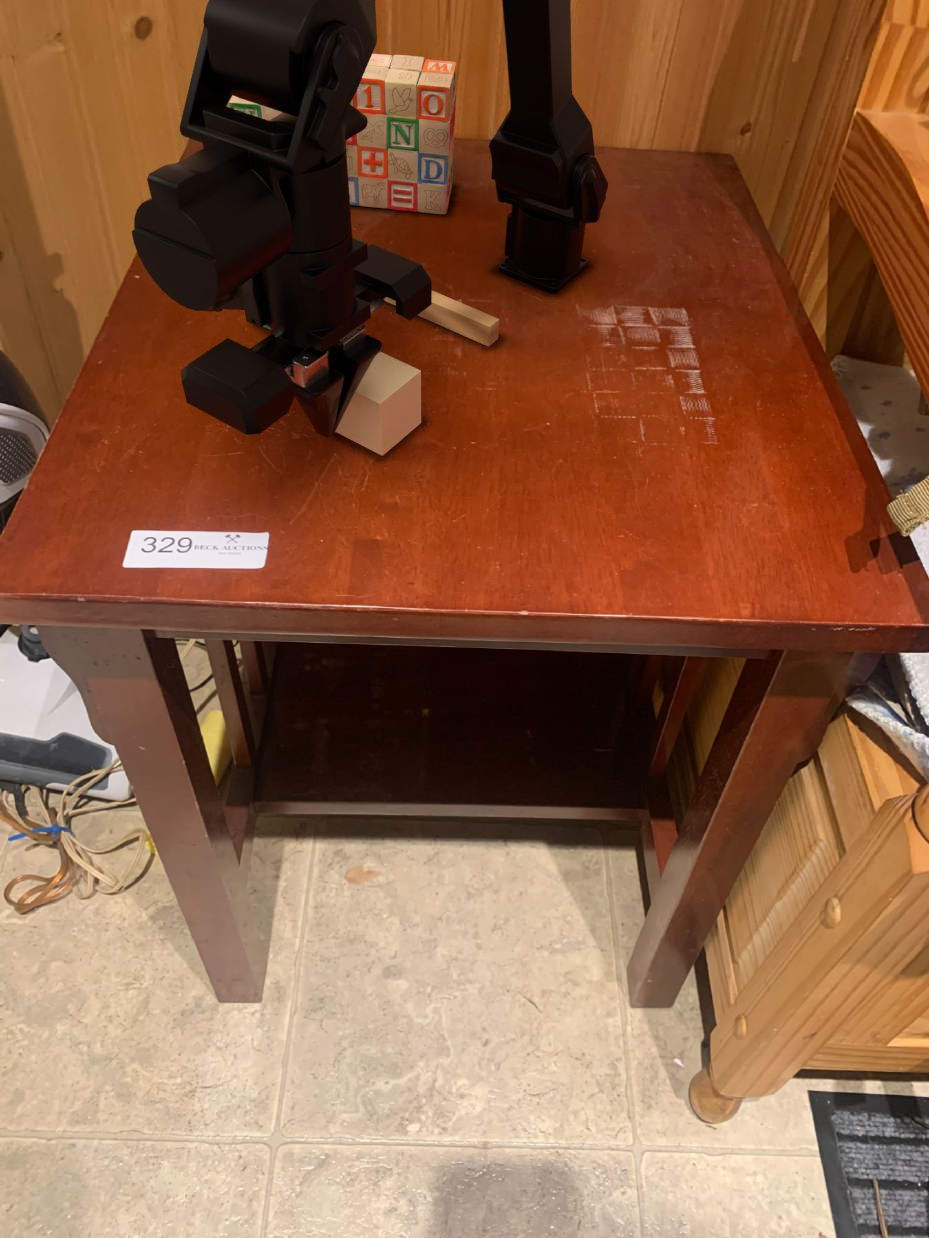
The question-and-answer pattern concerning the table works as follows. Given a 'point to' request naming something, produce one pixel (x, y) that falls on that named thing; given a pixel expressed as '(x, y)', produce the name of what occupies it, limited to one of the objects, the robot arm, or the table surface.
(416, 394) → the cream block
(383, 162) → the stack of blocks
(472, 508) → the table surface
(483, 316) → the rail
